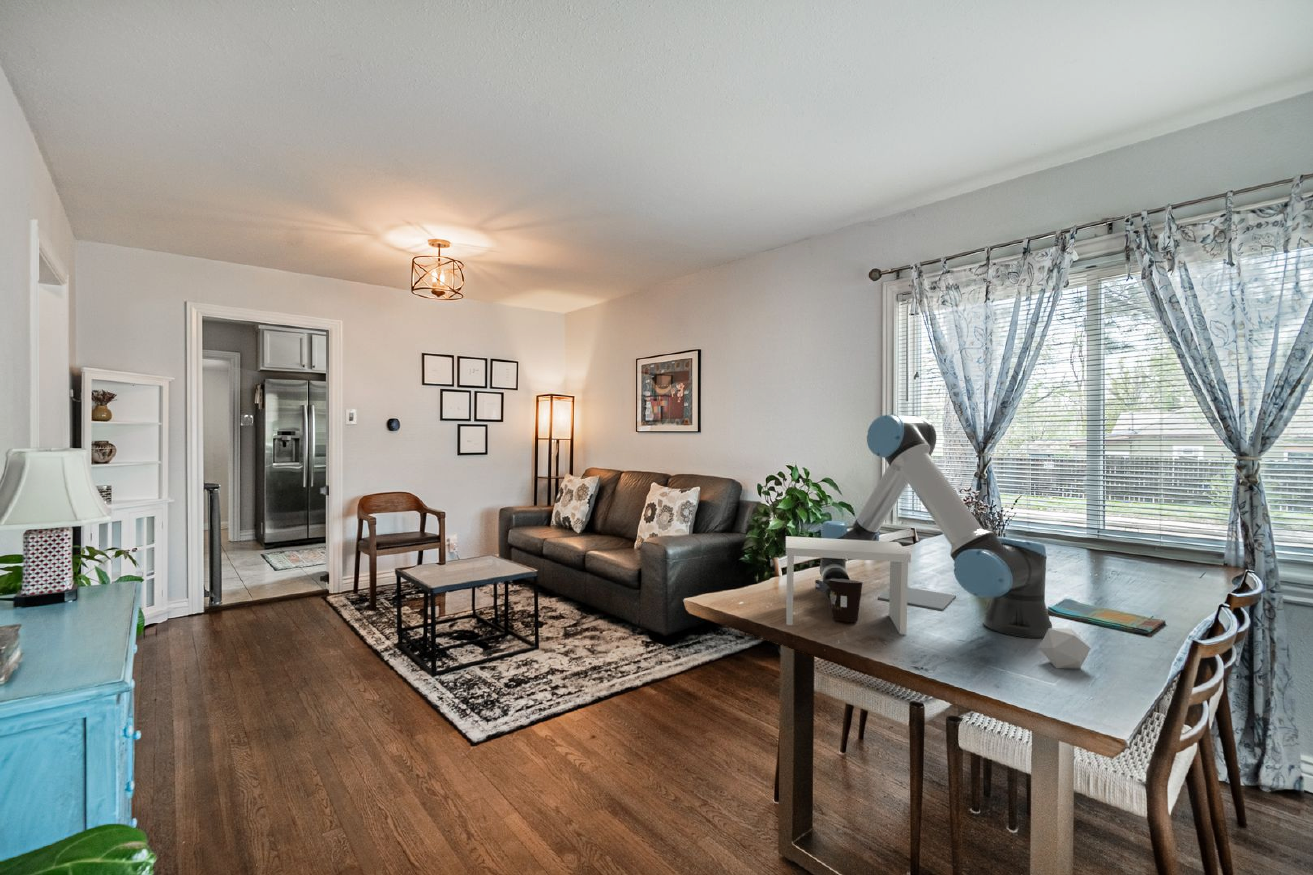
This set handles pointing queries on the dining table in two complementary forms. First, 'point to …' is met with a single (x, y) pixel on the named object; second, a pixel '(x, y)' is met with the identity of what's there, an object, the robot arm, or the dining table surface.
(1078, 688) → the dining table surface
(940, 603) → the placemat
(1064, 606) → the dish towel
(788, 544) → the shelf stand
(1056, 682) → the dining table surface
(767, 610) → the dining table surface
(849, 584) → the coffee mug
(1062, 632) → the die
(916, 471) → the robot arm
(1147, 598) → the dining table surface
